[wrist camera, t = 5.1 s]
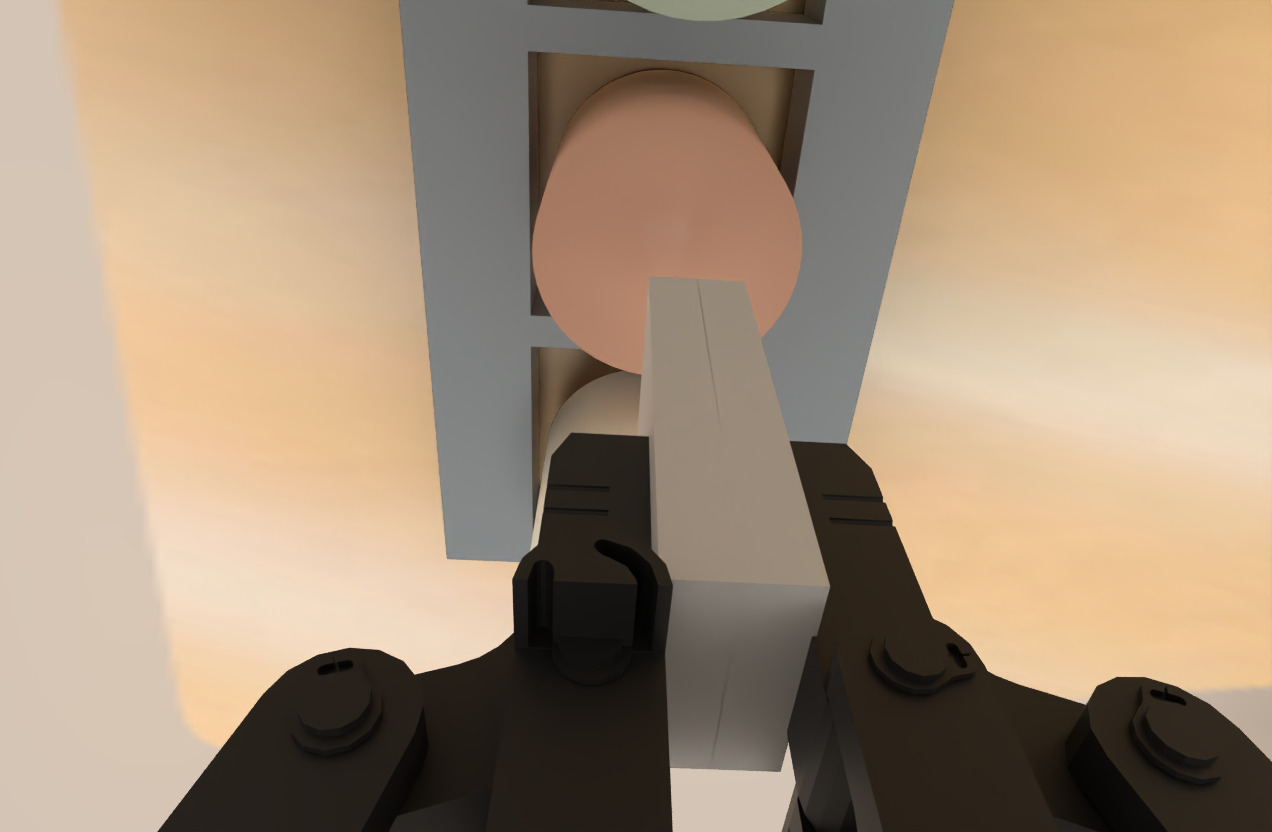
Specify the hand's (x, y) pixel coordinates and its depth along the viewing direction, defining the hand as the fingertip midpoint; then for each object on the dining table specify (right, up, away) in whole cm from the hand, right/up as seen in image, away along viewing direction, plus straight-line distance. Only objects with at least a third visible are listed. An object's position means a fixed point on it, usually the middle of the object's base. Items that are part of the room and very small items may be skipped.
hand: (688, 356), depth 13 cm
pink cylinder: (0, +6, +10) cm, 11 cm away
